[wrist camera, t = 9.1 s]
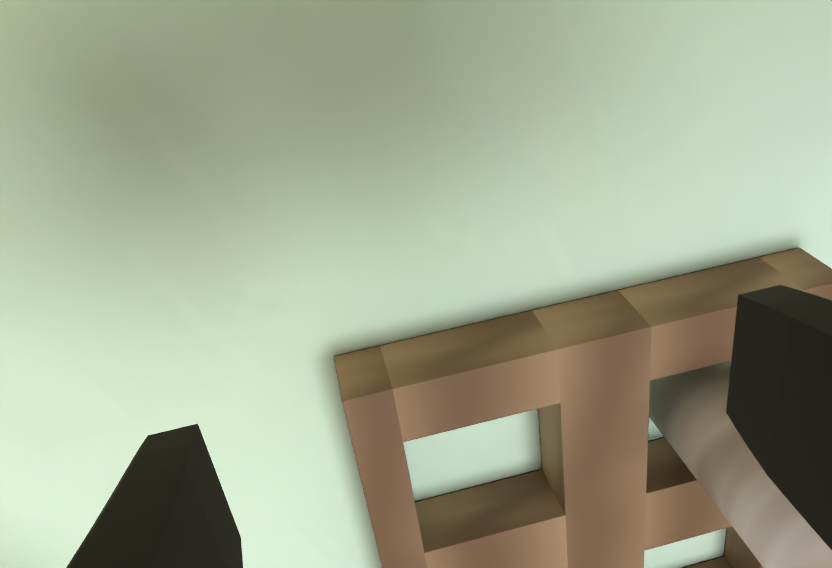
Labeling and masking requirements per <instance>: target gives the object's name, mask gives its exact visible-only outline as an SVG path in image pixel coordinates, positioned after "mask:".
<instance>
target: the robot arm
mask: <svg viewBox="0 0 832 568" xmlns="http://www.w3.org/2000/svg"><path fill="white" fill-rule="evenodd" d="M726 413H727V415H728V417H729V418H730V420H731V421H732V423H733V424H734V426H735V428H736V429H737V431H738V432H739V434H740V436H741V437H742V439H743V440H744V442H745V443H746V445H747V447H748V448H749V450H750V451H751V452H752V454H753V455H754V457H755V458H756V460H757V461H758V463H759V464H760V466H761V467H762V468H763V470H764V471H765V473H766V474H767V476H768V477H769V478H770V479H771V480H772V482H773V483H774V484H775V485H776V486H777V488H778V489H779V490H780V491H781V492H782V494H783V495H784V496H785V497H786V498H787V499H788V501H789V502H790V503H791V504H792V505H793V506H794V508H795V509H796V510H797V511H798V512H799V513H800V515H801V516H802V517H803V518H804V519H805V520H806V522H807V523H808V524H809V525H810V526H811V527H812V528H813V530H814V531H815V532H816V533H817V534H818V535H819V536H820V538H821V539H822V540H823V541H824V542H825V543H826V544H827V546H828V547H829V548H830V549H831V550H832V300H829V299H826V298H823V297H820V296H817V295H814V294H811V293H807V292H804V291H801V290H797V289H794V288H790V287H787V286H783V285H777V286H773V287H769V288H765V289H760V290H756V291H752V292H748V293H744V294H739V295H738V301H737V311H736V320H735V330H734V340H733V349H732V359H731V368H730V378H729V388H728V397H727V407H726ZM67 568H243V561H242V548H241V537H240V534H239V532H238V529H237V526H236V524H235V521H234V518H233V516H232V513H231V511H230V508H229V505H228V503H227V500H226V497H225V495H224V492H223V489H222V487H221V484H220V482H219V479H218V476H217V474H216V471H215V468H214V466H213V463H212V460H211V458H210V455H209V452H208V450H207V447H206V445H205V442H204V439H203V437H202V434H201V431H200V429H199V426H198V424H195V425H191V426H186V427H182V428H178V429H174V430H170V431H165V432H161V433H157V434H153V435H149V436H147V438H146V439H145V441H144V442H143V443H142V445H141V447H140V448H139V450H138V451H137V453H136V455H135V456H134V458H133V460H132V461H131V463H130V465H129V466H128V468H127V470H126V471H125V473H124V475H123V476H122V478H121V480H120V481H119V483H118V485H117V487H116V488H115V490H114V492H113V493H112V495H111V497H110V498H109V500H108V502H107V503H106V505H105V507H104V508H103V510H102V512H101V513H100V515H99V517H98V518H97V520H96V521H95V523H94V525H93V526H92V528H91V530H90V531H89V533H88V535H87V536H86V538H85V539H84V541H83V542H82V544H81V546H80V547H79V549H78V550H77V552H76V553H75V555H74V557H73V558H72V560H71V561H70V563H69V564H68V566H67Z"/></svg>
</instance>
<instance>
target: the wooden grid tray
mask: <svg viewBox="0 0 832 568" xmlns="http://www.w3.org/2000/svg"><path fill="white" fill-rule="evenodd" d="M777 285H783V286H787V287H790V288H794V289H797V290H801V291H804V292H807V293H811V294H814V295H817V296H820V297H823V298H826V299H829V300H832V269H831V268H830V267H828V266H827V265H825V264H824V263H822V262H820V261H819V260H817V259H816V258H814V257H813V256H811V255H810V254H808V253H807V252H805V251H804V250H802V249H801V248H797V249H793V250H788V251H784V252H780V253H775V254H771V255H767V256H763V257H758V258H754V259H750V260H745V261H741V262H737V263H733V264H728V265H724V266H720V267H715V268H711V269H707V270H703V271H698V272H694V273H690V274H685V275H681V276H677V277H673V278H668V279H664V280H660V281H655V282H651V283H647V284H643V285H638V286H634V287H630V288H626V289H621V290H617V291H613V292H608V293H604V294H600V295H596V296H591V297H587V298H583V299H578V300H574V301H570V302H566V303H561V304H557V305H553V306H548V307H544V308H540V309H536V310H531V311H527V312H523V313H518V314H514V315H510V316H506V317H501V318H497V319H493V320H488V321H484V322H480V323H476V324H471V325H467V326H463V327H458V328H454V329H450V330H446V331H441V332H437V333H433V334H428V335H424V336H420V337H416V338H411V339H407V340H403V341H398V342H394V343H390V344H386V345H381V346H377V347H373V348H368V349H364V350H360V351H356V352H351V353H347V354H343V355H338V356H334V361H335V367H336V372H337V377H338V382H339V388H340V393H341V398H342V403H343V407H344V411H345V415H346V419H347V424H348V428H349V432H350V436H351V440H352V444H353V448H354V453H355V457H356V461H357V465H358V469H359V473H360V477H361V482H362V486H363V490H364V494H365V498H366V502H367V506H368V511H369V515H370V519H371V523H372V527H373V531H374V535H375V540H376V544H377V548H378V552H379V556H380V560H381V564H382V568H644V550H648V549H652V548H655V547H659V546H663V545H666V544H670V543H673V542H677V541H681V540H684V539H688V538H691V537H695V536H699V535H702V534H706V533H710V532H713V531H717V530H720V529H724V528H727V536H726V544H725V553H724V557H721V558H717V559H713V560H710V561H706V562H703V563H699V564H696V565H692V566H688V567H685V568H832V550H831V549H830V548H829V547H828V546H827V544H826V543H825V542H824V541H823V540H822V539H821V538H820V536H819V535H818V534H817V533H816V532H815V531H814V530H813V528H812V527H811V526H810V525H809V524H808V523H807V522H806V520H805V519H804V518H803V517H802V516H801V515H800V513H799V512H798V511H797V510H796V509H795V508H794V506H793V505H792V504H791V503H790V502H789V501H788V499H787V498H786V497H785V496H784V495H783V494H782V492H781V491H780V490H779V489H778V488H777V486H776V485H775V484H774V483H773V482H772V480H771V479H770V478H769V477H768V476H767V474H766V473H765V471H764V470H763V468H762V467H761V466H760V464H759V463H758V461H757V460H756V458H755V457H754V455H753V454H752V452H751V451H750V450H749V448H748V447H747V445H746V443H745V442H744V440H743V439H742V437H741V436H740V434H739V432H738V431H737V429H736V428H735V426H734V424H733V423H732V421H731V420H730V418H729V417H728V415H727V413H726V407H727V397H728V388H729V378H730V368H731V359H732V349H733V340H734V330H735V320H736V311H737V301H738V295H739V294H744V293H748V292H752V291H756V290H760V289H765V288H769V287H773V286H777ZM534 409H538V413H539V428H540V443H541V458H542V470H538V471H534V472H530V473H526V474H523V475H519V476H515V477H511V478H507V479H503V480H499V481H495V482H492V483H488V484H484V485H480V486H476V487H472V488H468V489H465V490H461V491H457V492H453V493H449V494H445V495H441V496H438V497H434V498H430V499H426V500H422V501H418V502H414V497H413V492H412V486H411V481H410V476H409V471H408V466H407V461H406V455H405V450H404V445H403V442H406V441H410V440H414V439H418V438H422V437H426V436H430V435H434V434H438V433H442V432H446V431H450V430H454V429H458V428H462V427H466V426H470V425H474V424H478V423H482V422H486V421H490V420H494V419H498V418H502V417H506V416H510V415H514V414H518V413H522V412H526V411H530V410H534ZM649 417H650V418H651V420H652V421H653V422H654V424H655V425H656V426H657V428H658V429H659V430H660V432H661V433H662V434H663V436H664V437H665V438H662V439H658V440H654V441H650V442H648V423H649Z"/></svg>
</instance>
